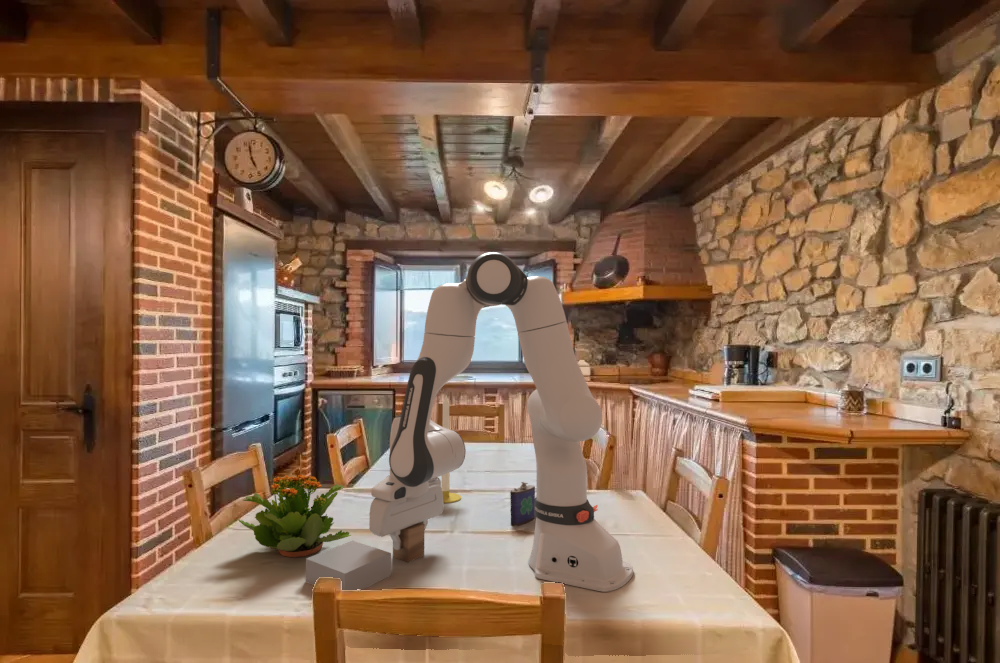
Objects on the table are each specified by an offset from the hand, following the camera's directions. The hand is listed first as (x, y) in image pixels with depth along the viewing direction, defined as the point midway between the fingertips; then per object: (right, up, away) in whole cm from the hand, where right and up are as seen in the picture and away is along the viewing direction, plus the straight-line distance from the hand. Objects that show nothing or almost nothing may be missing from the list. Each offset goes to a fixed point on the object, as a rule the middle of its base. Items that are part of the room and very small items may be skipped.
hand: (408, 544), depth 122 cm
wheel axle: (+4, -4, +44) cm, 45 cm away
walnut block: (0, -3, 0) cm, 3 cm away
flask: (+27, -3, +24) cm, 36 cm away
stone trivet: (-10, -3, -12) cm, 16 cm away
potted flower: (-25, -3, +2) cm, 26 cm away
